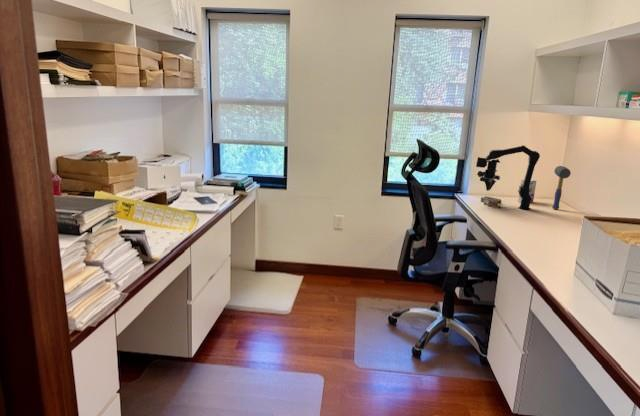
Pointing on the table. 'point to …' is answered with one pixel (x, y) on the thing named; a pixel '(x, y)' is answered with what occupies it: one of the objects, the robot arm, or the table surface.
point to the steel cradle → (487, 198)
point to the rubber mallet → (560, 184)
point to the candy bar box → (531, 189)
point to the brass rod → (488, 201)
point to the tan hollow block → (494, 202)
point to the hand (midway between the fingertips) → (488, 190)
